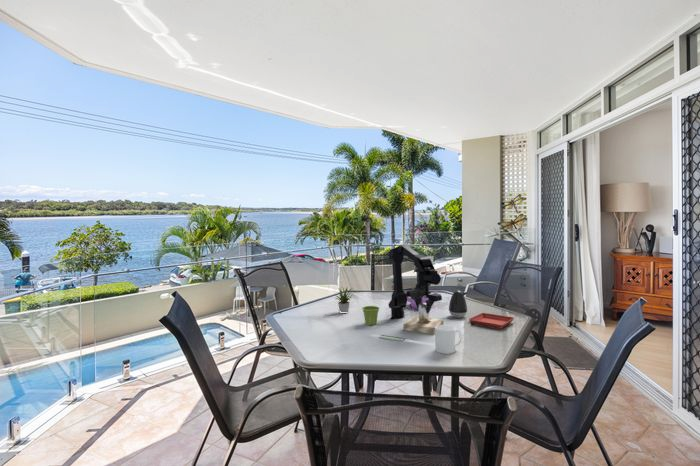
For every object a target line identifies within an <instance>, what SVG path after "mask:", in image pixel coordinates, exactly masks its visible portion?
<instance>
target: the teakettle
mask: <svg viewBox="0 0 700 466" xmlns="http://www.w3.org/2000/svg"><path fill="white" fill-rule="evenodd" d="M407 291H408V290H405V293H406V292H407ZM433 294H439V292H438V291H434V293H433ZM429 295H431V294H429ZM426 300H428V298H425V297H422V303H426V302H425V301H426ZM407 302H408V303H410V306H411V308H412V309H418V308H417V306H416V303H415V301H414V300H413V299H411V297H407Z"/></svg>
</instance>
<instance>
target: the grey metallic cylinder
mask: <svg viewBox="0 0 700 466" xmlns="http://www.w3.org/2000/svg"><path fill="white" fill-rule="evenodd" d="M429 314H430V312H429V313H427V303H419V311H418V317H419V321H429V318H430V315H429Z"/></svg>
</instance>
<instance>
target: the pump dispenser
mask: <svg viewBox="0 0 700 466" xmlns="http://www.w3.org/2000/svg"><path fill="white" fill-rule="evenodd" d="M466 295H468V291H465V292H462V291H460V290H455V291H453V293H452V294H451V296H450V300H449V304H448V311H449V313H450V316H452V317H453V318H456V319H463V318H465V317H466V315H467V312H468V303H467V300H466V297H465V296H466Z"/></svg>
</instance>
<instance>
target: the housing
mask: <svg viewBox="0 0 700 466" xmlns="http://www.w3.org/2000/svg"><path fill="white" fill-rule="evenodd" d="M444 321H445V320H444V319H440V318H430V317H429V321H419V316H415V315H414V316H413V317H411V318H410V319H408V320H407V321H405V322H403V325H402V326H403V331H409V332H417V333H424V334H430V335H435V327H436V326H438V325H445V324H444Z"/></svg>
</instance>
